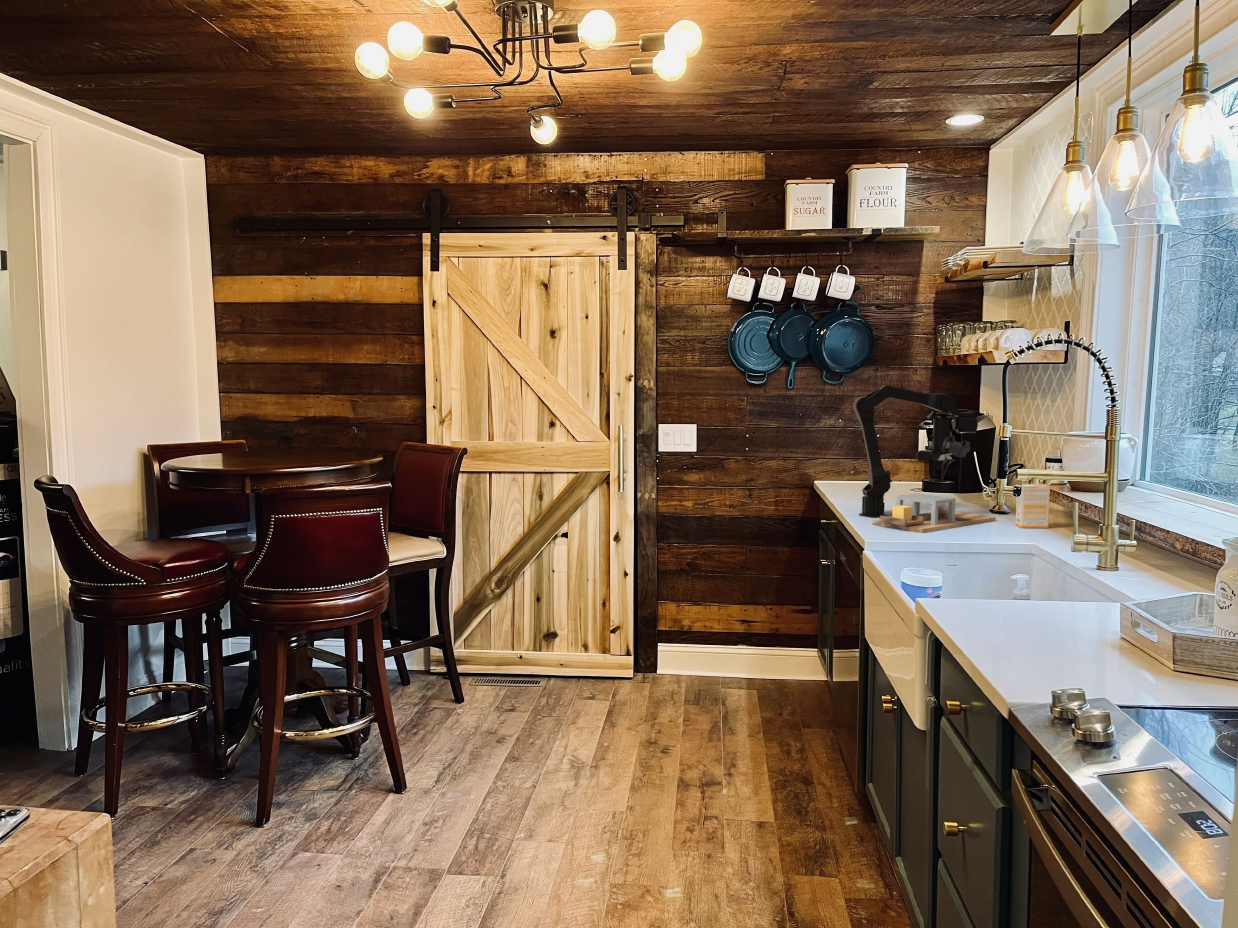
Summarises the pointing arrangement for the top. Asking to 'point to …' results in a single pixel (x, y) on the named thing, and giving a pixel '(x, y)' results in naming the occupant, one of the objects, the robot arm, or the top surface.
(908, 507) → the ochre block
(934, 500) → the grey small table
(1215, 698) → the top surface
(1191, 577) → the top surface
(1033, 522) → the supplement box
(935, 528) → the base board
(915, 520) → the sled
